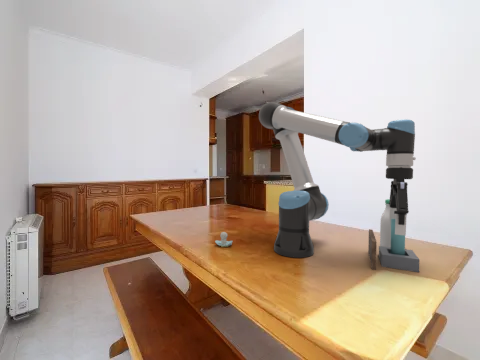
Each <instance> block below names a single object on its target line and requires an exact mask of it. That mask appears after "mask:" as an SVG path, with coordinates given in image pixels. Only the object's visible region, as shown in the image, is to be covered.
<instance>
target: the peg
mask: <svg viewBox="0 0 480 360" xmlns="http://www.w3.org/2000/svg"><path fill="white" fill-rule="evenodd" d="M405 249H406V236H405V235H396V234H395V219H391V250H390V254H397V255H404V256H405Z"/></svg>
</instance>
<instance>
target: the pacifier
mask: <svg viewBox="0 0 480 360" xmlns="http://www.w3.org/2000/svg"><path fill="white" fill-rule="evenodd" d="M219 236H220V240H215V241H214V242H215V244H216V245H218V246H219V247H220V246H221V248H228V247H229V246H232V245H233V243H234V242H233V240H227V239H228V233H227V232H225V231H222V232H220V235H219Z"/></svg>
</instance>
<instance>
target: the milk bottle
mask: <svg viewBox="0 0 480 360" xmlns="http://www.w3.org/2000/svg"><path fill="white" fill-rule="evenodd" d="M389 200H390V198H389V199H388V198H387V199H385V200H384V204H385V208H384V211H383V213H382V215H381V216H380V227H379V229H380V230H379V246H383V247H391V226H389V212H390V208H391V207H390V206H389Z"/></svg>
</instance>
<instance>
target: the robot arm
mask: <svg viewBox="0 0 480 360" xmlns="http://www.w3.org/2000/svg"><path fill="white" fill-rule="evenodd" d="M258 112H259V113H258V120H259V122H260V124H261V125H262V126H263V127H264V128H266V129H269V130H273V134H274V137H275V139H276V140H279V142H280V146H281V147H282V148H281V149H282V151H283V155H284V158H285V161H286V165H287V169H288V171H289V175H290V178H291V181H292V184H293V188H294V189H293V190H288V191H284V192H282V193H281V194H279V196H278V197H279V198H278V231H277V236H276V239H275V241H274V245H273V250H274V251H273V252H274V253H276V254H277V255H281V256H284V257H288V258H295V259H296V258H300V259H301V258H307V257H308V258H309V257H310V256H313V255H314V252H315V251H314V250H315V248H314V244H313V241H312V238H311V237H312V236H311V235H310V221H315V220H318V219H320V218H322V217H324V216H325V214H326V213H327V212H328V209H329V199H328V198H327V196H326V195H325V194H324V193H322V192H321V189H320V186H319V185H318V184H316V183H315V182H314V180H313V177H312V173H311V171H310V167H309V165H308V161H307V159H306V158H307V157H306V155H305V153H304V149H303V145H302V143H301V140H300V137H299V134H303V135H306V136H311V137H314V138H317V139H321V140H323V141H324V140H325V141H328V142H332V143H336V144H339V145H342V146H345V147H346V148H349V149H350V151H351V152H370V151H371V152H373V151H386V157H385V158H386V159H385V166H386V169H385V178H386V179H389V180H391V182H390V193H389V199H390V200H389V206H390V207H391V208H390V212H389V226H391V219H395V234H396V235H405V237H406V235H407V218H408V217H407V216H408V214H409V212H410V211H409V204H408V203H409V201H408V185H409V184H408V182H406V181H405V180H412V179H413V178H414V169H413V168H412V167H413V166H414V161H416V157H415V156H414V153H415V141H416V131H415V130H416V129H415V127H416V126H415V122H414V121H413V120H411V119H397V120H396V119H395V120H391V121H389V122H388V123H387V127H385V128H377V129H370V128H368V127H367V126H365V125H363V124H362V123H358V122H348V121H344V120H340V119H337V118H336V119H335V118H330V117H326V116H322V115H321V116H320V115H317V114H312V113H307V112H304V111H298V110H295V109H294V108H293V107H291V106H290V107H289V106H286V105H284V104H281V103H279V102H276V101H269V102H266V103H265V104H264V105H262V106H261V108H260V109H259V111H258Z"/></svg>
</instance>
